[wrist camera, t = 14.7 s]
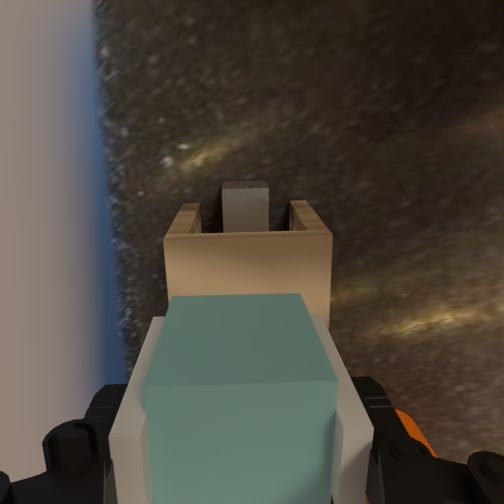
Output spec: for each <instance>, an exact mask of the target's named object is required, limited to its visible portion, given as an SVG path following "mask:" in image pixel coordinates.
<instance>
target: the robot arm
mask: <svg viewBox="0 0 504 504" xmlns="http://www.w3.org/2000/svg"><path fill="white" fill-rule="evenodd" d="M310 316H311V319H312V321H313V323H314V326H315V328H316V330H317V333H318V335H319V337H320V339H321V342H322V344H323V346H324V349H325V351H326V353H327V356H328V358H329V360H330V363H331V365H332V367H333V369H334V372H335V374H336V376H337V379H338V394H337V408H336V416H335V430H334V444H333V458H332V472H331V486H330V491H331V494H332V498H333V502H334V504H366V497H367V499H368V502H369V504H504V456H502V455H499V454H496V453H494V452H486V451H480V452H475V453H473V454H472V455H470V456H469V457H468V462H467V465H466V464H461V463H456V462H452V461H447V460H443V459H440V458H436V457H434V456H433V455H432V454H431V452H430V450H429V449H428V448H427V447H426V446H425V445H424V444H423V443H422V442H420V441H418V440H416V439H414V438H413V437H410V435H409V433H408V432H407V430H406V428H405V426H404V425H403V423H402V421H401V419H400V418H399V416H398V414H397V412H396V411H395V409H394V407H392V404H391V402H390V400H389V398H387V395H386V393H385V391H384V390H383V388H382V386H381V385H380V384H379V383H377V382H376V381H375V380H374V379H372V378H371V377H350V376H349V374H348V372H347V370H346V368H345V366H344V364H343V361H342V359H341V357H340V355H339V353H338V351H337V349H336V346H335V344H334V342H333V340H332V338H331V336H330V334H329V332H328V329H327V327H326V325H325V323H324V321H323V319H322V317H321V315H320V314H310ZM164 320H165V317H153V320H152V322H151V325H150V328H149V330H148V333H147V336H146V338H145V341H144V344H143V346H142V349H141V352H140V354H139V357H138V360H137V362H136V365H135V368H134V370H133V373H132V376H131V378H130V381H129V384H114V385H105V386H104V387H103V388H102V389H101V390H99V392H97V393H96V394H95V396H94V397H93V400H92V401H91V403H90V406H89V408H88V410H87V412H86V414H85V418H83V419H77V420H71V421H68V422H65V423H62V424H60V425H59V426H57V427H55V428H53V429H52V430H51V431H50V432H49V433H48V434H47V435H46V436H45V438H44V440H43V442H42V446H43V452H44V457H45V463H46V470H47V471H46V472H44V473H42V474H39V475H36V476H33V477H30V478H27V479H23V480H19V481H16V482H12V483H10V479H9V476H8V475H7V474H5V473H4V472H2V471H0V504H151V503H152V498H153V494H152V481H151V468H150V456H149V443H148V430H147V417H146V414H145V407H144V396H143V385H144V382H145V379H146V376H147V373H148V370H149V367H150V363H151V360H152V357H153V354H154V351H155V348H156V345H157V342H158V338H159V335H160V332H161V329H162V326H163V323H164Z"/></svg>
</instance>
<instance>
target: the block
mask: <svg viewBox="0 0 504 504" xmlns="http://www.w3.org/2000/svg"><path fill="white" fill-rule="evenodd" d="M337 394H338V379H337V376H336V374H335V372H334V369H333V367H332V365H331V363H330V360H329V358H328V356H327V353H326V351H325V349H324V346H323V344H322V342H321V339H320V337H319V335H318V333H317V330H316V328H315V326H314V323H313V321H312V319H311V316H310V314H309V312H308V309H307V307H306V305H305V303H304V300H303V298H302V296H301V293H278V294H238V295H197V296H172V298H171V301H170V304H169V307H168V310H167V313H166V317H165V320H164V323H163V326H162V329H161V332H160V335H159V338H158V342H157V345H156V348H155V351H154V354H153V357H152V360H151V363H150V367H149V370H148V373H147V376H146V379H145V382H144V385H143V396H144V407H145V414H146V417H147V430H148V443H149V456H150V468H151V481H152V494H153V504H331V491H330V486H331V472H332V458H333V444H334V430H335V416H336V408H337Z"/></svg>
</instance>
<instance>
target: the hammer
mask: <svg viewBox="0 0 504 504" xmlns="http://www.w3.org/2000/svg"><path fill="white" fill-rule="evenodd" d="M222 208H223V232H224V233H237V232H269V187H268V185H267V183H266V181H229V182H223V185H222Z"/></svg>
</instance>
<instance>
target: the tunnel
mask: <svg viewBox="0 0 504 504" xmlns="http://www.w3.org/2000/svg"><path fill="white" fill-rule="evenodd" d="M332 243H333V235H332V233H331V232H330V231H329V229H328V228H327V227H326V226H325V224H324V223H323V222H322V220H321V219H320V218H319V216H318V215H317V214H316V213H315V211H314V210H313V209H312V207H311V206H310V205H309V204H308V202H307V201H306V200H298V201H289V231H272V232H237V233H202V234H201V217H200V203H185V204H182V206H181V208H180V210H179V212H178V214H177V215H176V217H175V219H174V221H173V223H172V225H171V226H170V228H169V230H168V232H167V234H166V236H165V237H164V239H163V244H164V256H165V267H166V278H167V289H168V301H169V304H170V301H171V298H172V296H197V295H238V294H278V293H301V296H302V298H303V300H304V303H305V305H306V307H307V309H308V312H309V314H320V315H321V317H322V319H323V321H324V323H325V325H326V327H327V329H328V332H329V313H330V289H331V266H332Z"/></svg>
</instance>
